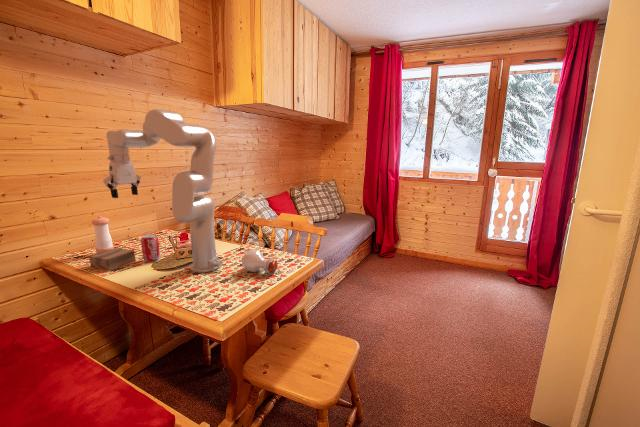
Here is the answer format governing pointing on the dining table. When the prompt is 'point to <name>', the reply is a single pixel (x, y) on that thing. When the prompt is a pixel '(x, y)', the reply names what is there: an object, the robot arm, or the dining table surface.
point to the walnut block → (112, 259)
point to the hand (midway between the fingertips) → (125, 196)
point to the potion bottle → (258, 262)
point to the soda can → (150, 248)
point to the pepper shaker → (102, 234)
